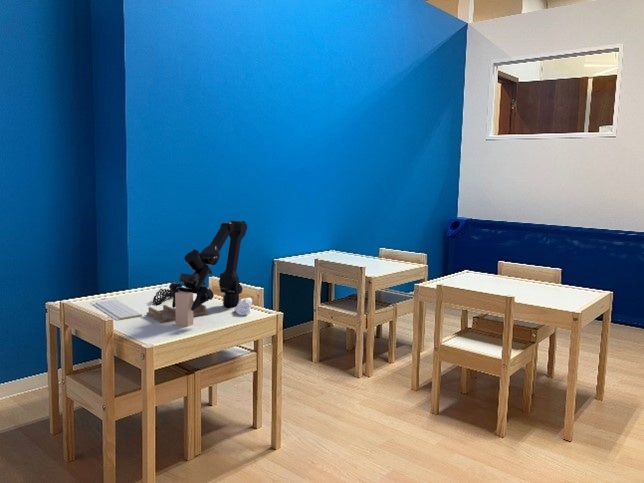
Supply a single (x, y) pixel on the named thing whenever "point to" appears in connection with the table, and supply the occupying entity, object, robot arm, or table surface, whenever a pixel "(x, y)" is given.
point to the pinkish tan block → (184, 308)
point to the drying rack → (173, 313)
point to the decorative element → (167, 294)
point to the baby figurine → (243, 306)
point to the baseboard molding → (117, 309)
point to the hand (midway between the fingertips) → (182, 308)
